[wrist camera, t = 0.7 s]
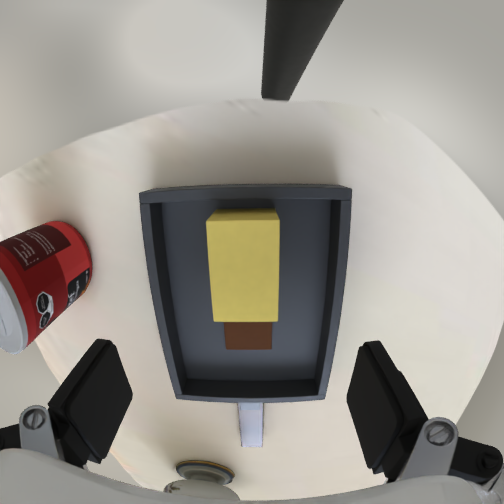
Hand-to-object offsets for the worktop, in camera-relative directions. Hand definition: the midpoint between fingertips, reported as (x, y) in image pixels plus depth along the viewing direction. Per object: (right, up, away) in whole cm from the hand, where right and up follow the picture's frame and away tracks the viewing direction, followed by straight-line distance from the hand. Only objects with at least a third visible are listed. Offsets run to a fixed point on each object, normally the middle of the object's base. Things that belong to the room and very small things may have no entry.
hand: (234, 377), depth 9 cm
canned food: (-18, +4, +13) cm, 23 cm away
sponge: (0, +4, +12) cm, 13 cm away
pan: (0, 0, +14) cm, 14 cm away
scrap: (0, -2, +14) cm, 14 cm away
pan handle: (+1, -14, +19) cm, 24 cm away
